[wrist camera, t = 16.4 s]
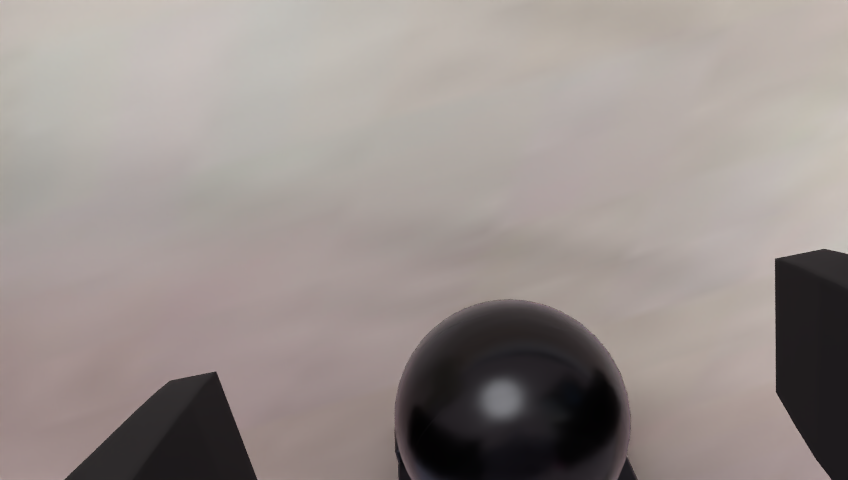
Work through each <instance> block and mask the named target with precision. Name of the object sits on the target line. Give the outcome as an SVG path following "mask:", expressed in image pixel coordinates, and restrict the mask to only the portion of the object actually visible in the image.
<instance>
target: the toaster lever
mask: <svg viewBox="0 0 848 480" xmlns="http://www.w3.org/2000/svg"><path fill="white" fill-rule="evenodd" d="M630 430H631V414H630V407H629V400H628V394H627V391H626V388H625V385H624V382H623V379H622V376H621V373H620V371H619V369H618V368H617V366H616V364H615V362H614V360H613V359H612V357H611V355H610V353H609V352H608V351H607V350H606V348H605V347H604V346H603V345H602V343H601V342H600V341H599V340H598V339H597V337H596V336H595V335H594V334H593V333H591V332H590V331H589V330H588V329H587V328H585V327H584V326H583V325H582V324H581V323H580V322H578V321H577V320H575V319H573V318H572V317H570V316H569V315H567V314H565V313H563V312H561V311H559V310H557V309H554V308H552V307H550V306H546V305H543V304H539V303H535V302H530V301H525V300H513V299H508V300H495V301H488V302H484V303H480V304H476V305H473V306H470V307H468V308H465V309H463V310H461V311H459V312H457V313H454V314H453V315H451V316H450V317H448V318H446V319H445V320H443V321H442V322H441V323H440V324H438V325H437V326H436V327H435V328H434V329H432V330H431V331H430V332H429V333H428V334H427V335H426V336H425V337H424V338H423V340H422V341H421V342H420V344H419V345H418V346H417V348H416V349H415V351H414V352H413V354H412V355H411V357H410V359H409V361H408V362H407V364H406V367H405V369H404V371H403V374H402V377H401V380H400V383H399V386H398V391H397V396H396V402H395V432H396V438H397V443H398V448H399V452H400V455H401V458H402V460H403V463H404V465H405V468H406V470H407V472H408V474H409V476H410V478H411V480H617V479H618V477H619V474H620V472H621V470H622V467H623V465H624V462H625V460H626V456H627V451H628V447H629V442H630Z"/></svg>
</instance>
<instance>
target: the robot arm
mask: <svg viewBox="0 0 848 480" xmlns="http://www.w3.org/2000/svg"><path fill="white" fill-rule="evenodd" d="M775 312H776V393H777V395H778V396H779V398H780V400H781V402H782V403H783V405H784V407H785V408H786V410H787V412H788V414H789V415H790V417H791V419H792V421H793V422H794V424H795V426H796V428H797V429H798V431H799V432H800V434H801V436H802V437H803V439H804V441H805V442H806V444H807V445H808V447H809V449H810V450H811V452H812V453H813V455H814V457H815V458H816V460H817V461H818V462H819V464H820V465H821V466H822V468H823V469H824V470H825V471H826V473H827V474H828V475H829V477H830V478H831V479H832V480H848V254H845V253H841V252H836V251H831V250H827V249H821V250H816V251H812V252H807V253H802V254H797V255H792V256H787V257H782V258H777V259H775ZM65 480H257V478H256V475H255V472H254V470H253V467H252V465H251V462H250V459H249V457H248V454H247V451H246V449H245V446H244V444H243V441H242V438H241V436H240V433H239V430H238V428H237V425H236V422H235V420H234V417H233V415H232V412H231V409H230V407H229V404H228V401H227V399H226V396H225V394H224V391H223V388H222V386H221V383H220V380H219V378H218V375H217V373H216V372H211V373H206V374H201V375H196V376H191V377H186V378H181V379H176V380H171V381H169V382H168V383H167V384H166V385H164V386H163V387H162V388H161V389H159V390H158V391H157V392H156V393H155V394H154V395H152V396H151V397H150V398H149V399H148V400H147V401H146V402H145V403H144V404H143V405H142V406H141V407H139V408H138V409H137V410H136V411H135V412H134V413H133V414H132V415H131V416H130V417H129V418H128V419H127V420H126V421H125V422H124V423H123V424H122V425H121V426H120V427H119V428H118V429H117V430H115V431H114V432H113V433H112V434H111V435H110V436H109V437H108V438H107V439H106V440H105V441H104V442H103V443H102V444H101V445H100V446H99V447H98V448H97V449H96V450H95V451H94V452H93V453H92V454H91V455H90V456H89V457H88V458H87V459H85V460H84V461H83V462H82V463H81V464H80V465H79V466H78V467H77V468H76V469H75V470H74V471H73V472H72V473H71V474H70V475H69V476H68V477H67V478H66V479H65Z"/></svg>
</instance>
